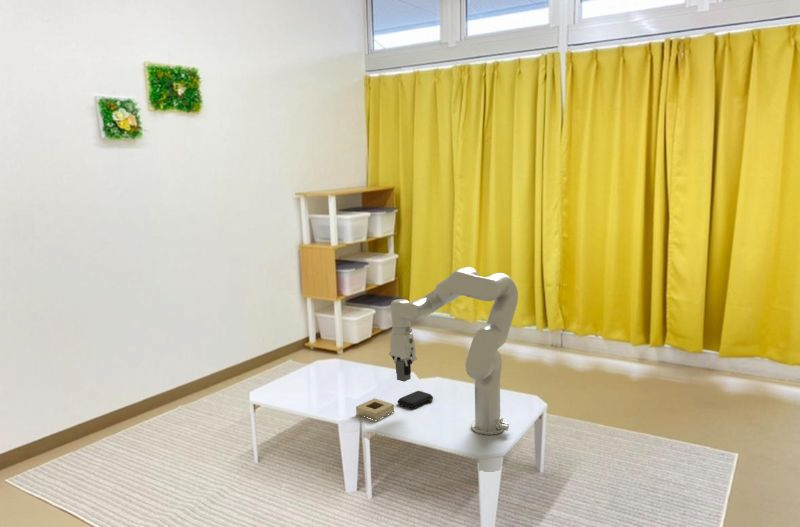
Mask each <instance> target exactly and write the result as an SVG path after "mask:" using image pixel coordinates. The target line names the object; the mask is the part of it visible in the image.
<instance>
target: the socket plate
mask: <svg viewBox="0 0 800 527" xmlns="http://www.w3.org/2000/svg"><path fill="white" fill-rule="evenodd" d="M355 410H356V412H355V413H356V416H359V417H361V416H365V417H368V418H371V419H373V420H378V419H380V418H382V417H384V416H386V415H388V414H390V413H392V412H394V413H395V405H394V403H392V402H391V403H390V402H388V401H385V400H381V399H377V398H372V399H369V400H368V401H365V402H363V403H361V404H359V405H356V406H355ZM392 414H393V413H392ZM390 415H391V414H390ZM388 416H389V415H388ZM386 417H387V416H386ZM384 418H385V417H384ZM382 419H383V418H382ZM373 420H372V421H373ZM380 420H381V419H380ZM378 421H379V420H378Z"/></svg>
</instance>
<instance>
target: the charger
mask: <svg viewBox="0 0 800 527" xmlns="http://www.w3.org/2000/svg"><path fill="white" fill-rule="evenodd" d="M405 366H406V365H405V360H404V358H401V359H400V360H397V361H396V364H395V371H396V370H397V373H396V380H397V381H400V382H407V381H409V380H411V376H412V375H411V374H409V375H405Z"/></svg>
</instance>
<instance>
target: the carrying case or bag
mask: <svg viewBox="0 0 800 527" xmlns="http://www.w3.org/2000/svg"><path fill="white" fill-rule="evenodd" d="M433 400H434V396H433V395H432V394H431V393H427V392H425V391H422V390H416V391H414V392H411V393H409V394H406V395H404V396H401V397H399V399H398V400H397V404H398V405H399V406H401V405H402V407H404V408H406V407H407V409H409V408H410V409H409V410H414V409H416V408H419V407H421V406H423V405H425V404H427V403H431V402H432V401H433Z"/></svg>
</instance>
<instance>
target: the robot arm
mask: <svg viewBox="0 0 800 527" xmlns="http://www.w3.org/2000/svg"><path fill="white" fill-rule="evenodd" d="M461 296H464V297H467V298H471V299H475V300H478V301H483V302H492V301H494V302H493V304H492V307H491V308H490V312H489V315H488V318H487V320H486V323H485V324H484V325H483V326H482V327H480V328H479V329H478V330H477V331H476V333H474V336H473V337H472V341H471V344H470V346H469V350H468V353H467V355H466V356H467V357H466V360H465V365H464V366H465V371H466V373H467V375H468V377H469V378H470V379H472V380H474V419H475V420H473V421H472V422H471V424H470V428H471V429H472V431H473V432H475V433H477V434H481V435H486V436H487V435H488V436H489V435H490V436H491V435H492V436H493V435H498V434H500V433H502V432H503V431H506V432H508V431H509V428H510V427H509V426H510V424H509V423H508V422H505V421H504V417H503V416H501V375H502V374H501V373H502V366H503V365H502V364H503V360H502V355H501V353H500V351H499V349H500V348H501V347H502V346H504V344H505V343H506V342H507V339H508V335H509V332H510V328H511V326H512V322H513V319H514V317H515V314H516V313H515V312H516V310H517V306H518V302H519V291H518V288H517V285H516V283H515V281H514V280H513V279H512V278H511V277H510V276H509V275H507V274H505V273H503V272H495V273H493V274H490V275H488V276H486V277H485V276H480V275H479V274H478V271H477V270H476V269H475V268H473V267H470V266H465V267H461V268H459V269H455V270H454V271H453V272H451V273H450V274H449V276H448V277H446V278H445V279H444V280H441V281H439V282H438V283H437V284H436V286H435V288H434V289H433V290H432V291H430V292H429V293H427V294H426V295H424V296H422V297H420V298H419V299H415V300H413V301H409V300H407V299H405V298H401V299H400V298H398V299H394V300H392V301H391V303H390V311H391V315H390V316H391V329H392V330H391V331H392V332H391V335H390V350H389V353H388V355H389V356H390V357H391V358H392V360H393V362H394V364H395V365H396V361H397V360H400V359H402V358H403V359H404V360H405V365H406V366H405V375H409V374H410V375H411V373H412V368H411V365H412V364H414V362H415V361H417V359H418V358H417V356H416V345H415V344H416V343H415V339H414V334H413V333H412V332H413V328H412V327H411V322H418V321H419V320H421V319H423V318H425V317H427V316H429V315H431V314H433V313H435V312H436V311H438V310H439V309H441V308H442V307H444V306H445V305H447V304H449V303H452V302H453V301H454V300H457V299H458V298H460V297H461ZM395 374H397V370H396V369H395Z"/></svg>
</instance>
